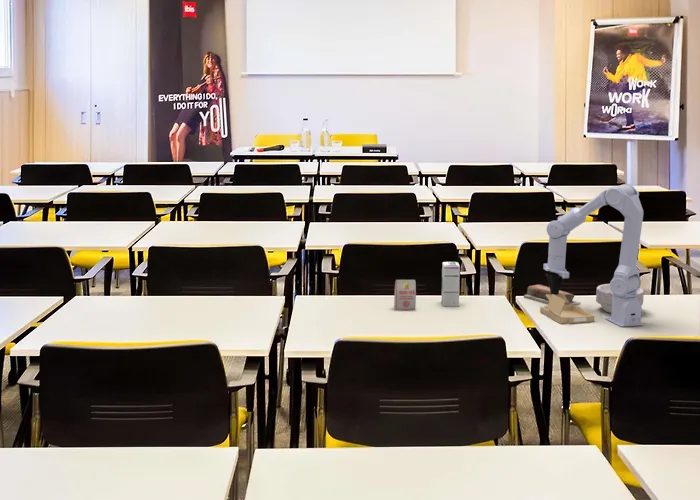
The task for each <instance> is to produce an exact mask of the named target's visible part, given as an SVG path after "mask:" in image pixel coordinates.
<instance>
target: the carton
mask: <svg viewBox="0 0 700 500" xmlns="http://www.w3.org/2000/svg"><path fill="white" fill-rule="evenodd" d="M547 306H548V305H546V306H543V305H542V306H540V307H539V308H540V309H539V310H540V311H539V312H540V314H542V315H544V316H546V317H548V318H549V319H551V320H553V321H554V322H556V323H558V324H560V325H566V324H579V323H593V322H595V316H596V315H594V314H593V313H591V312H590V311H588V310H586V309H584V308H582V307H580V306H579V305H576V306H575V305H564V308H563V310H562V313H561V315H558V314H557V313H555V312H553V311H551V310H549V309H548V308H547Z"/></svg>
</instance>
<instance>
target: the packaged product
mask: <svg viewBox="0 0 700 500" xmlns="http://www.w3.org/2000/svg"><path fill="white" fill-rule="evenodd" d="M546 294H551V292H550V286H547V285H543V284H534V285H529V286H528V287H527V292H526V294H524V295H523V298H524V299H528V300H531V301H534V302H538V303H541V304H544V305H548V304H549V300H548V298H547V297H546ZM558 294H564V296H565V297H566V298H567V300H568V301H569V303H565V305H575V306H579V305H581V302H580V301H577V300H574V297H575V294H572V293H571V292H570V293H569V292H567V291H564V290H561V289H560V290H559V293H558Z"/></svg>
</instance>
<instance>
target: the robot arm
mask: <svg viewBox="0 0 700 500" xmlns="http://www.w3.org/2000/svg"><path fill="white" fill-rule="evenodd" d="M639 196H640V192H639V191H638V190H637V189H636V187H634V186H633V185H631V184H629V183H626V184H622V185H618V186H617V185H616V186H614V185H613V186H611V187H609V188H608V189H604V190H603V191H601V192H600V193H599V194H597V195H596V196H595V197H593V198H592V199H591V200H589V201H588V202H587V203H585V204H584V205H582V206H581V207H578V206H577V207H570V208H568V211H567V212H566V213H565V214H563V215H559V216H558V217H557V220H550V222H549V223H548V224H547V225H546V233H547V234H548V252H547V253H548V257H547V262H546V263H543V265H542V266H543V270H544V271H546V272H548V273H545V276H546V279H547V281H548V287H550V292H551V294H554V295H558V293H559V290H560V291H561V286H562V284H563V282H564V281H565V279H569V278H570V271H567V269H566V256H567V255H566V253H567V241H568V236H569V235H570V233H571V231H573V230H575V229H576V228H577V227H579V226H580V225H582V224H583V223H585V222H586V221H587V220H586V219H587V216H589V215H590V214H592V213H593V212H595V211H597V210H599V209H601V208H602V207H604V206H608V205H609V206H610V207H612V208H614V209H616V210H617V211H619V212H620V213H621V214H622V216H623V217H624V222H623V230H622V236H621V237H622V238H621V244H620V245H621V246H620V253H619V259H618V260H619V262H618V266H617V267H616V269H615V271H614V274H613V277H612V279H611V280H610V283H609V284H610V289H611V291H612V292H613V299H612V312H611V313H610V314H611V315H610V317H609V316H607V317H605V320H607V321H608V322H611V323H613V324H615V325H617V326H618V327H622V328H623V327H635V326H636V327H637V326H638V327H640V326H643V325H644V324H643V323H642V322H641V319H642V309H643V307H642V306H643V305H642V306H641V303H640V302H639V301H638V300H637V297H636V295H637V293H636V290H638V289H639V288H641V284H642V282H641V281H642V280H641V276H640V270H639V268H638V267H637V265H638V264H637V263H638V256H639V249H640V240H641V235H642V227H643V220H644V209H643V207H642V206H643V205H642V204H641V200H640V198H639Z"/></svg>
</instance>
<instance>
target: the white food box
mask: <svg viewBox="0 0 700 500" xmlns="http://www.w3.org/2000/svg"><path fill="white" fill-rule="evenodd" d="M416 285H417V284H416V279H395V282H394V296H393V297H394V298H393V299H394V303H393V304H394V305H393V308H394V311H416V306H417V305H416V303H417V302H416V301H417V299H416V298H417V291H416V289H417V287H416Z"/></svg>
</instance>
